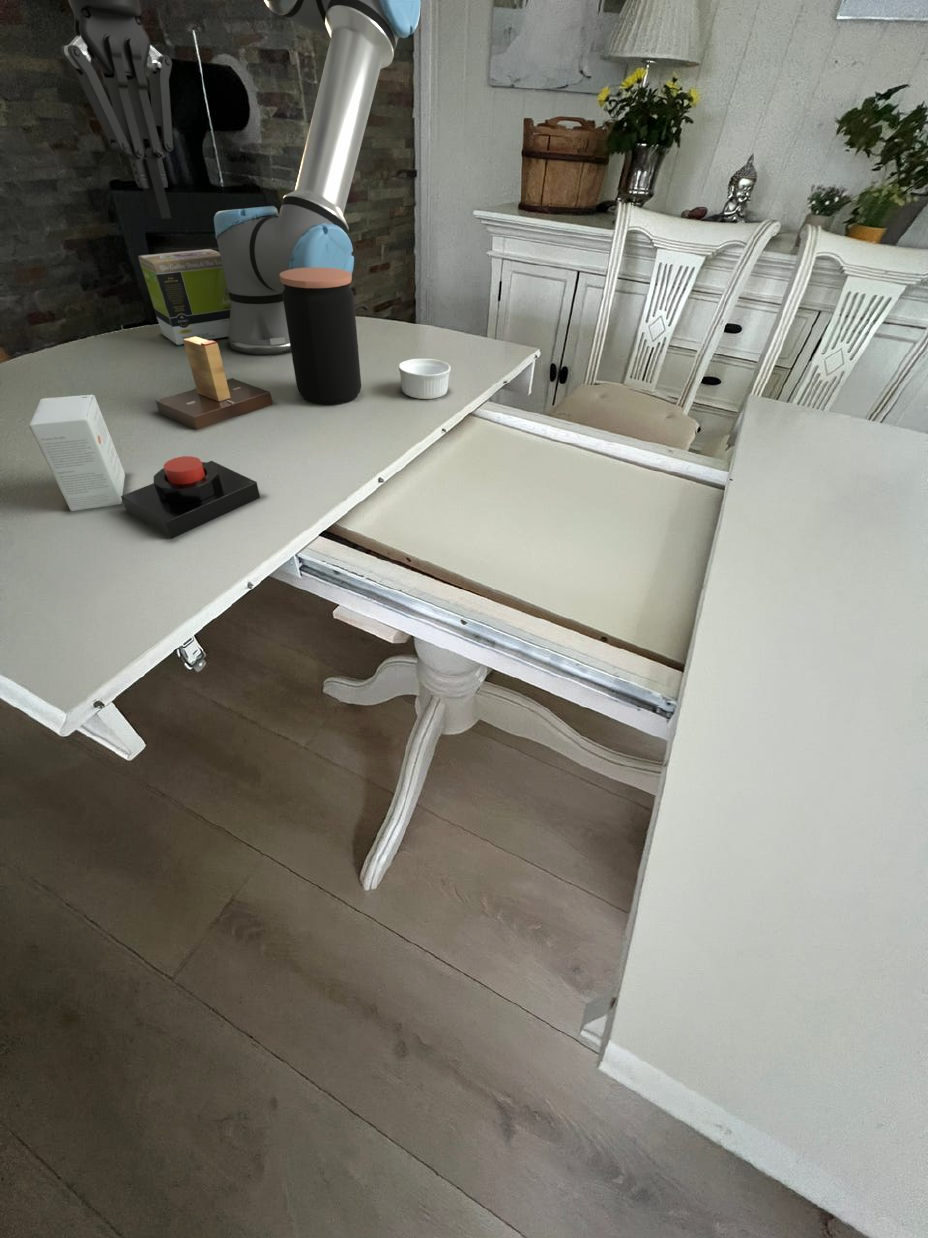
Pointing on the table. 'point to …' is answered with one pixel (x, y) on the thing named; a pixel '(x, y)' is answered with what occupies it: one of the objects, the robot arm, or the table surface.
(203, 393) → the handle
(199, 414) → the panel
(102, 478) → the small box
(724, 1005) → the table surface
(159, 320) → the tea box
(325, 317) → the coffee jar
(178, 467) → the button
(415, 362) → the ramekin
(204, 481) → the button block
